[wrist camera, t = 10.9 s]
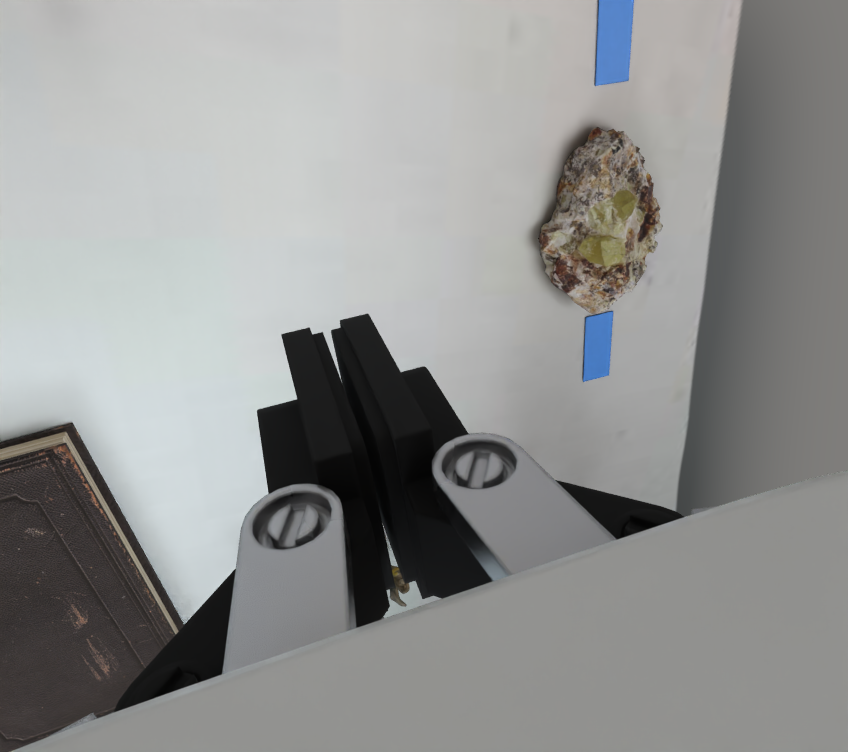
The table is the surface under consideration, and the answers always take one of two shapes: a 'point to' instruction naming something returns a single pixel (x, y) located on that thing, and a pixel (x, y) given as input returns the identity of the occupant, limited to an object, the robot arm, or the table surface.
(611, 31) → the tape marks
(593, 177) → the mineral rock
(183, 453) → the table surface
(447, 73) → the table surface
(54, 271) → the table surface
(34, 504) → the hardcover book
